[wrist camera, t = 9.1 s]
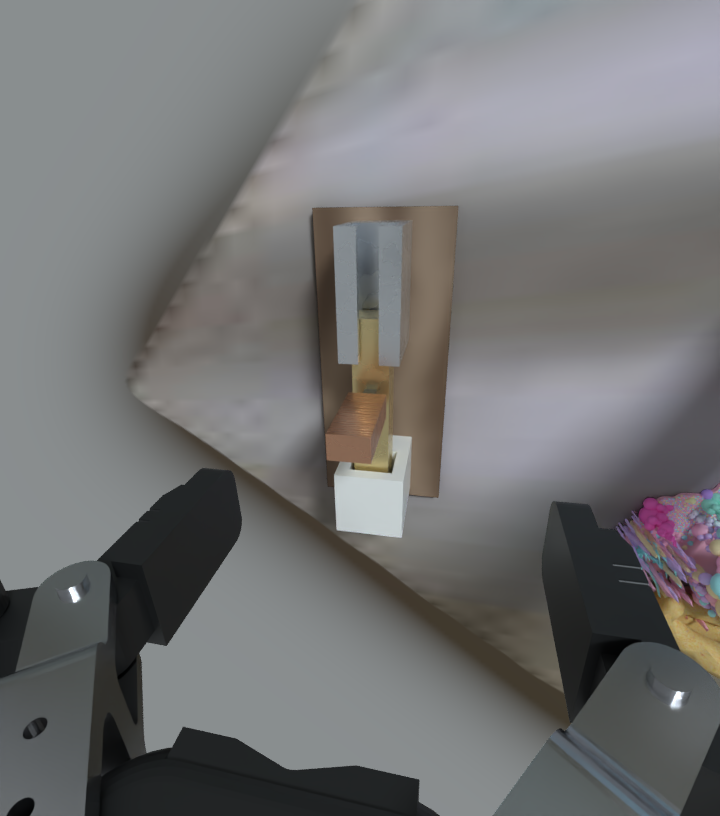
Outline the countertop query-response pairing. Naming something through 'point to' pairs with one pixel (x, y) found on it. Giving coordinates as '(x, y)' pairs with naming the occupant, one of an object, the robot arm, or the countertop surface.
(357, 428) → the sliding latch bolt
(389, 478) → the socket
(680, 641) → the candy landscape model
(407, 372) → the base board
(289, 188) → the countertop surface
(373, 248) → the sleeve
